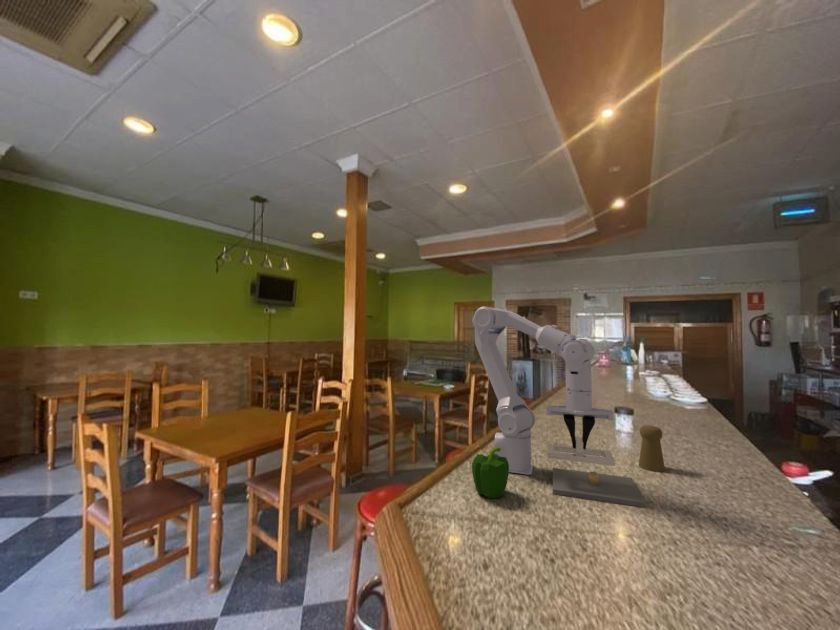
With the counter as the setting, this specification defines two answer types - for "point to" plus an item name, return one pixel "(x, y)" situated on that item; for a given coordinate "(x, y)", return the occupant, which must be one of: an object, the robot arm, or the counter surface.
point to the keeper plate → (596, 487)
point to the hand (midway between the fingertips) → (578, 447)
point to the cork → (651, 449)
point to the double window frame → (580, 453)
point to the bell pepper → (490, 474)
